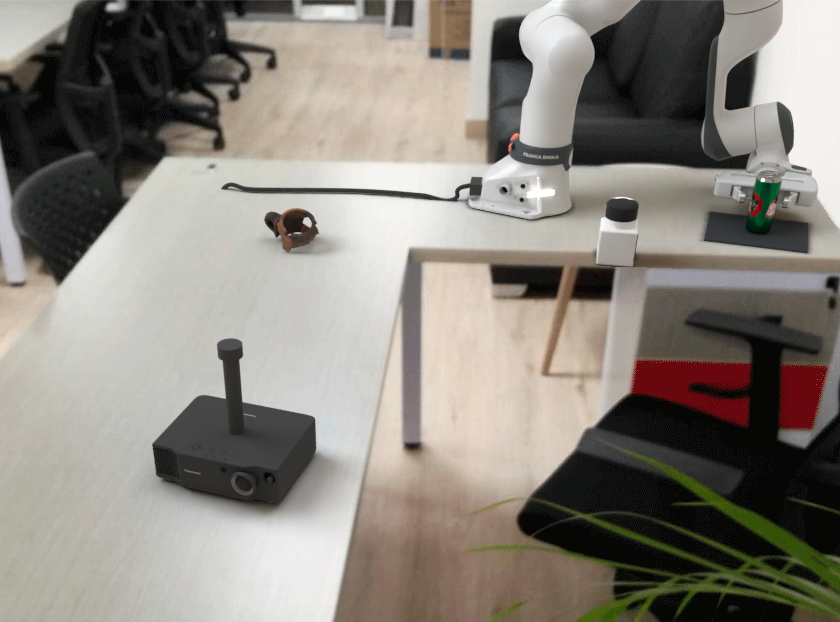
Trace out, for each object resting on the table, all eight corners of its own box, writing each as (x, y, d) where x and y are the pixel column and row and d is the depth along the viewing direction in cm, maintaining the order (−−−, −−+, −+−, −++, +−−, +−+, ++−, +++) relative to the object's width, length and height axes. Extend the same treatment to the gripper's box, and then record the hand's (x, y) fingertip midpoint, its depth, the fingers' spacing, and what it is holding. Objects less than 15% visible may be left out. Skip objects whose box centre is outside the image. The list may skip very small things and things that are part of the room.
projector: (149, 488, 152) (131, 363, 140) (202, 428, 165) (190, 309, 153) (273, 516, 147) (265, 389, 135) (318, 452, 159) (315, 330, 147)
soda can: (766, 237, 221) (780, 179, 214) (741, 232, 223) (754, 175, 216) (772, 228, 224) (786, 172, 217) (748, 224, 227) (760, 167, 220)
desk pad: (703, 240, 221) (704, 239, 221) (710, 212, 233) (710, 211, 233) (807, 253, 215) (807, 251, 215) (808, 223, 227) (808, 222, 227)
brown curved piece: (324, 237, 225) (326, 212, 218) (306, 271, 221) (308, 247, 214) (271, 217, 226) (271, 191, 219) (253, 251, 222) (253, 226, 215)
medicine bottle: (633, 267, 210) (642, 208, 203) (596, 264, 212) (604, 205, 204) (632, 253, 216) (641, 194, 209) (596, 250, 217) (604, 192, 210)
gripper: (718, 159, 231) (713, 181, 220) (820, 170, 225) (820, 192, 215) (712, 188, 234) (707, 210, 224) (812, 199, 229) (812, 222, 218)
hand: (763, 202), depth 219 cm, fingers open, 7 cm apart
